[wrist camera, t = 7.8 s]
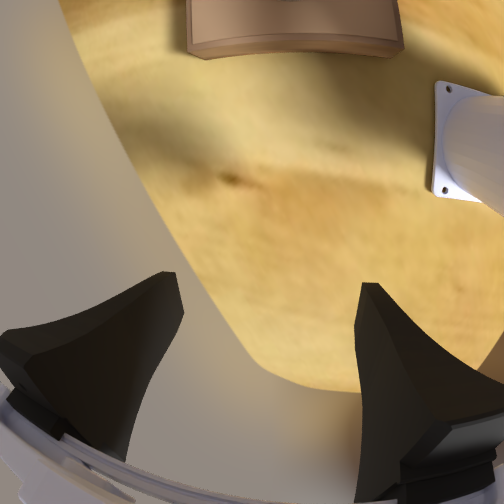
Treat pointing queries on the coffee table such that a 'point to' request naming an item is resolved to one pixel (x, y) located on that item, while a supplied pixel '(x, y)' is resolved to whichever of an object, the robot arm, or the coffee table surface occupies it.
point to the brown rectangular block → (293, 27)
